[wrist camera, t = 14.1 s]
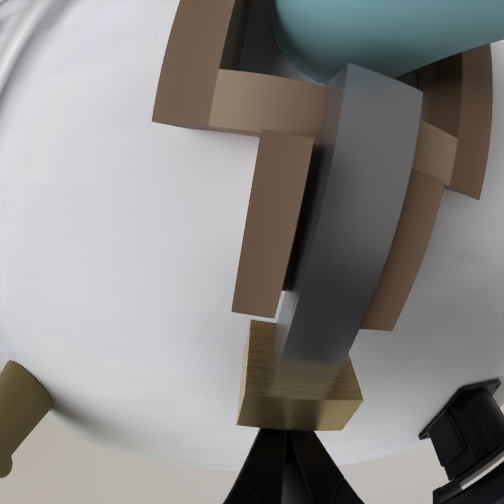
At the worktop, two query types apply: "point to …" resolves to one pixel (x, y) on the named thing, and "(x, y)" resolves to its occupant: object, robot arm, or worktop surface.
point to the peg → (381, 33)
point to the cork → (19, 410)
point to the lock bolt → (334, 257)
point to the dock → (305, 148)
